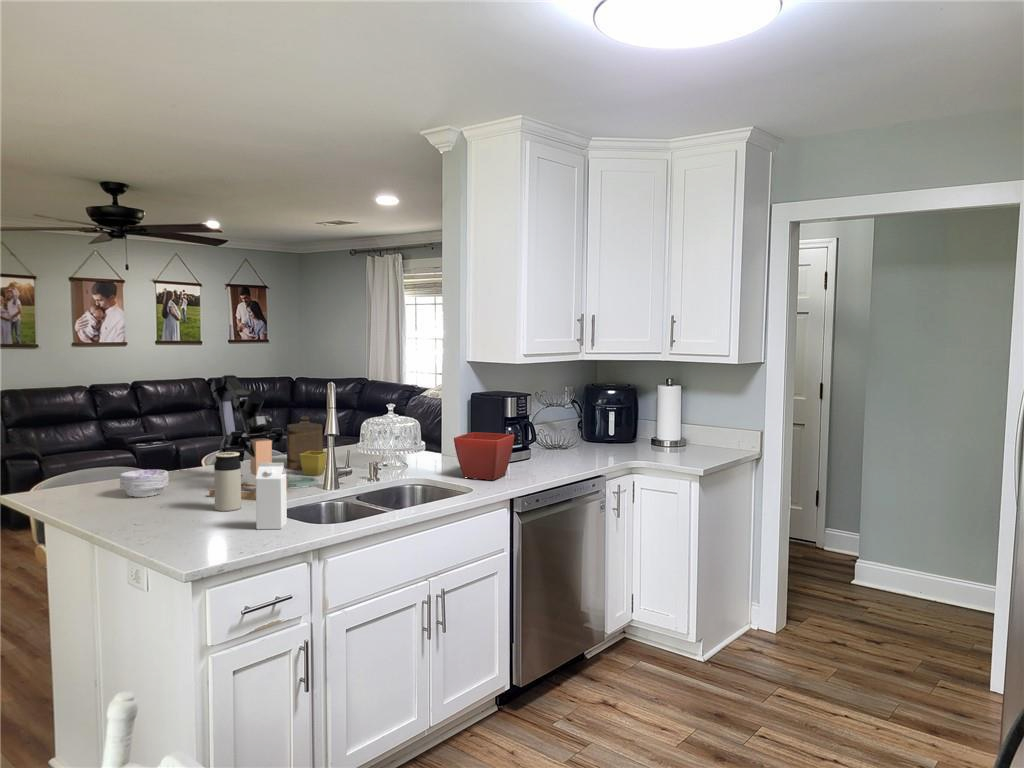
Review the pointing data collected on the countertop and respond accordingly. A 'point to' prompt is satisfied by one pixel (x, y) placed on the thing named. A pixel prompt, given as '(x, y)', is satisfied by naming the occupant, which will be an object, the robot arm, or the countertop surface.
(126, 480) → the paper bowls
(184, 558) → the countertop surface
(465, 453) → the plant pot
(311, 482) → the saucer
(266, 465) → the milk carton
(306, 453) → the flower pot
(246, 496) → the brown flat frame
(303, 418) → the wooden container
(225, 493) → the travel mug
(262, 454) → the long pot
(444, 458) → the countertop surface
